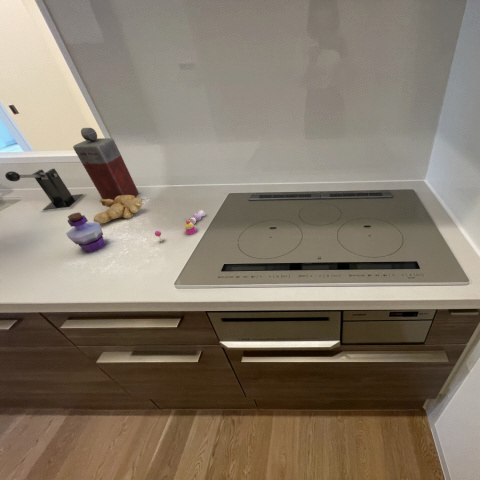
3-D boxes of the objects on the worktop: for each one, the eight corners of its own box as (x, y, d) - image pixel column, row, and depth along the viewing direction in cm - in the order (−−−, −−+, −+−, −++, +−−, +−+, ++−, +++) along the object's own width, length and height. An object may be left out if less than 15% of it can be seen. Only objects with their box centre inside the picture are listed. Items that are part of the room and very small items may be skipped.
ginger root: (147, 196, 107) (138, 180, 101) (150, 223, 98) (140, 207, 92) (103, 206, 103) (90, 190, 96) (101, 235, 94) (87, 219, 87)
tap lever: (16, 181, 85) (12, 170, 84) (4, 182, 84) (0, 171, 84) (55, 179, 101) (52, 171, 100) (46, 180, 101) (43, 171, 100)
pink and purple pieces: (194, 215, 98) (189, 200, 94) (213, 218, 96) (208, 203, 92) (157, 243, 84) (150, 228, 80) (178, 248, 82) (171, 232, 79)
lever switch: (71, 209, 103) (48, 175, 94) (44, 212, 101) (19, 178, 93) (84, 196, 111) (65, 164, 103) (60, 199, 110) (38, 167, 102)
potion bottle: (82, 243, 85) (60, 211, 78) (113, 236, 88) (94, 205, 80) (75, 259, 78) (50, 226, 71) (109, 251, 81) (88, 218, 74)
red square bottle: (113, 194, 112) (75, 125, 95) (139, 194, 112) (106, 124, 95) (99, 205, 105) (56, 131, 88) (127, 204, 105) (89, 131, 88)
